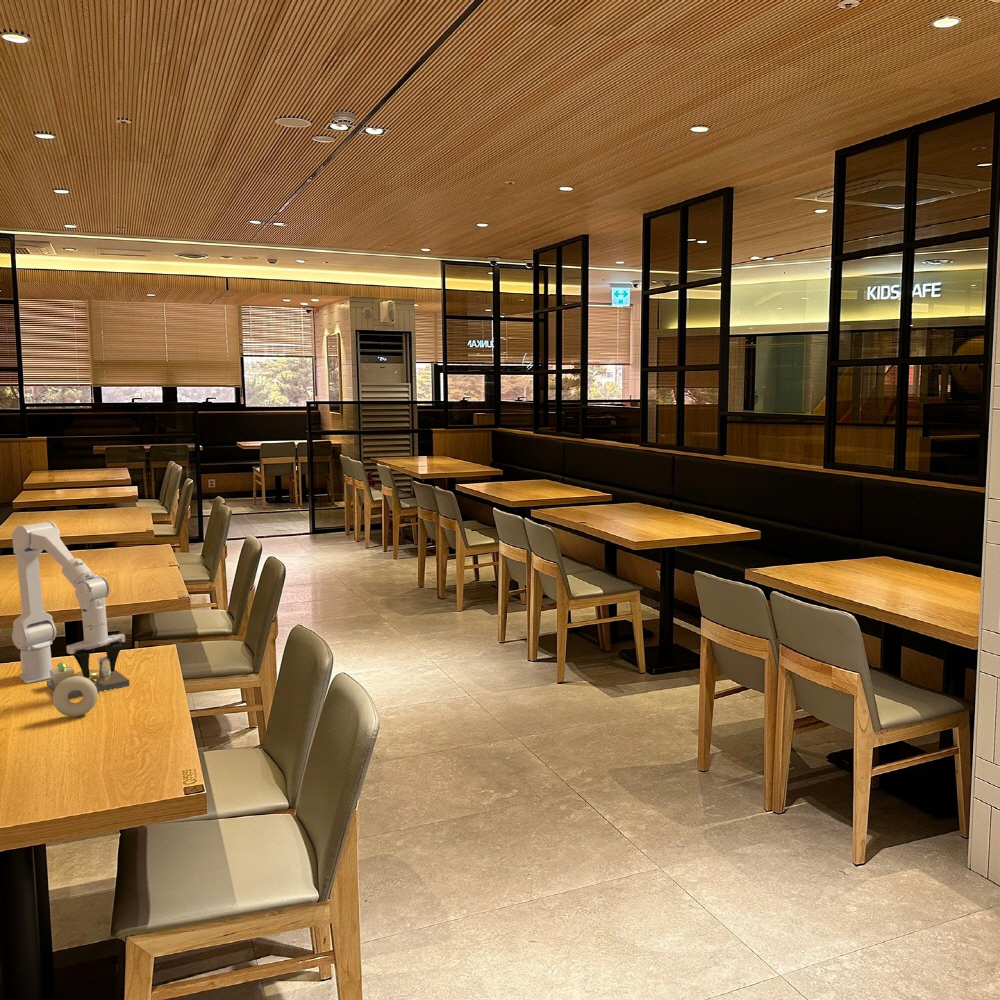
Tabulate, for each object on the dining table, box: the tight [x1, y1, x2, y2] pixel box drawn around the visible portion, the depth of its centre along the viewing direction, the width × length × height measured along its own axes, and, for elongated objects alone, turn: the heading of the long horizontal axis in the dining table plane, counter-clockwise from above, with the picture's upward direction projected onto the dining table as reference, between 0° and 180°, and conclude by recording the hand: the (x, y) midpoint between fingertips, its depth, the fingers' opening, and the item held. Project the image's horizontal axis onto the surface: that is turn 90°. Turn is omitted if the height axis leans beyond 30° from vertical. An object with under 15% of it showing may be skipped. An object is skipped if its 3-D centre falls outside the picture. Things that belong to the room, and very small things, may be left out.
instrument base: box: [46, 662, 130, 699], centre depth 240 cm, size 15×17×6 cm
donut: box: [52, 676, 99, 718], centre depth 217 cm, size 10×3×10 cm, turn 113°
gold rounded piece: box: [75, 655, 112, 682], centre depth 238 cm, size 12×6×7 cm, turn 64°
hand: (98, 673), depth 235 cm, fingers open, 6 cm apart
